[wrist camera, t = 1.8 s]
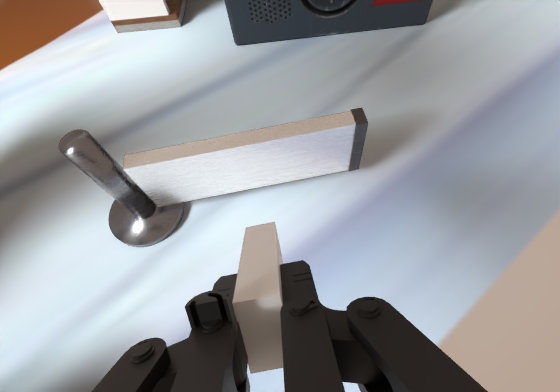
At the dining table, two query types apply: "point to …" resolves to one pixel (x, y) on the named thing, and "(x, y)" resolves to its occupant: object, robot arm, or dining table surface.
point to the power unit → (318, 17)
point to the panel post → (122, 194)
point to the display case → (144, 14)
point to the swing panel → (250, 158)
